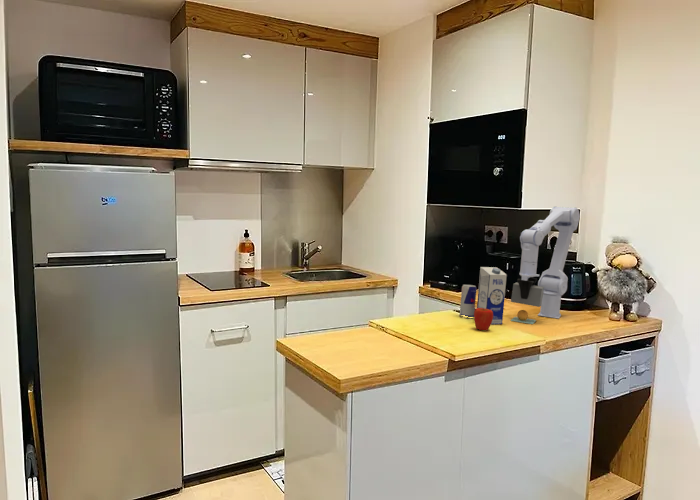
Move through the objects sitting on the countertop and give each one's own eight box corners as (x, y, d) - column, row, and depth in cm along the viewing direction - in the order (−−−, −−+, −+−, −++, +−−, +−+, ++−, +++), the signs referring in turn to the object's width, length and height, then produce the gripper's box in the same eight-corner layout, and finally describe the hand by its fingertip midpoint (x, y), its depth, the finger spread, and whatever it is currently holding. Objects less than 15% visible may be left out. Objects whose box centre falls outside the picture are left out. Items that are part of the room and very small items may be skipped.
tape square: (514, 317, 202) (514, 316, 202) (536, 320, 198) (536, 320, 198) (510, 320, 195) (510, 320, 195) (532, 324, 191) (533, 323, 191)
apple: (493, 329, 178) (495, 308, 178) (490, 333, 173) (492, 310, 172) (474, 326, 181) (476, 305, 180) (471, 330, 175) (472, 308, 175)
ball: (526, 307, 198) (530, 317, 197) (516, 311, 199) (520, 321, 199) (524, 309, 194) (529, 319, 194) (514, 313, 196) (519, 322, 195)
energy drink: (474, 319, 193) (477, 287, 192) (459, 317, 194) (462, 286, 193) (473, 316, 199) (476, 285, 198) (459, 314, 200) (462, 284, 199)
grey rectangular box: (513, 299, 201) (516, 282, 200) (541, 304, 196) (544, 287, 195) (510, 301, 196) (513, 283, 195) (539, 306, 191) (541, 288, 190)
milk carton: (491, 320, 194) (496, 266, 192) (502, 324, 188) (507, 269, 186) (475, 320, 192) (480, 266, 190) (485, 324, 185) (490, 268, 184)
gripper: (537, 264, 186) (533, 301, 188) (543, 261, 199) (539, 296, 200) (517, 262, 190) (513, 299, 191) (524, 259, 202) (520, 294, 204)
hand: (525, 297), depth 196 cm, fingers closed on grey rectangular box, 6 cm apart
